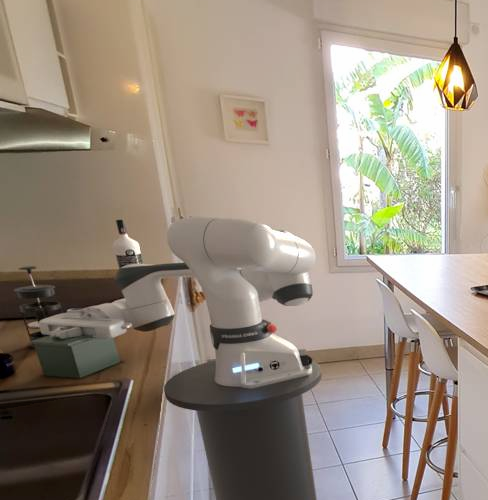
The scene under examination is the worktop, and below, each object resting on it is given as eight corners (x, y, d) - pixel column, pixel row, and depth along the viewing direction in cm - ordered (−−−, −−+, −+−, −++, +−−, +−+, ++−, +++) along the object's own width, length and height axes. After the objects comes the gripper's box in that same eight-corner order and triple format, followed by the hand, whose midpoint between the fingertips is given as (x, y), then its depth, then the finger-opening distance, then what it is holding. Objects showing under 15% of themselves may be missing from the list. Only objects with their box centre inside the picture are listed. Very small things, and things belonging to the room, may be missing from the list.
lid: (68, 346, 136) (67, 343, 136) (30, 343, 137) (30, 341, 137) (112, 331, 148) (111, 329, 148) (77, 329, 149) (76, 326, 149)
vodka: (151, 293, 226) (133, 218, 215) (153, 297, 219) (135, 220, 208) (123, 296, 220) (103, 218, 209) (125, 300, 213) (105, 221, 202)
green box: (80, 378, 140) (70, 345, 137) (43, 375, 141) (33, 343, 138) (120, 362, 151) (112, 331, 148) (86, 359, 152) (77, 329, 149)
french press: (32, 341, 165) (7, 265, 156) (72, 336, 170) (50, 262, 162) (29, 352, 156) (3, 271, 148) (71, 346, 162) (48, 269, 153)
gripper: (139, 334, 151) (96, 350, 138) (72, 330, 153) (23, 344, 140) (134, 312, 149) (89, 326, 136) (65, 308, 151) (15, 321, 138)
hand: (55, 335), depth 138 cm, fingers closed, pressing on lid
